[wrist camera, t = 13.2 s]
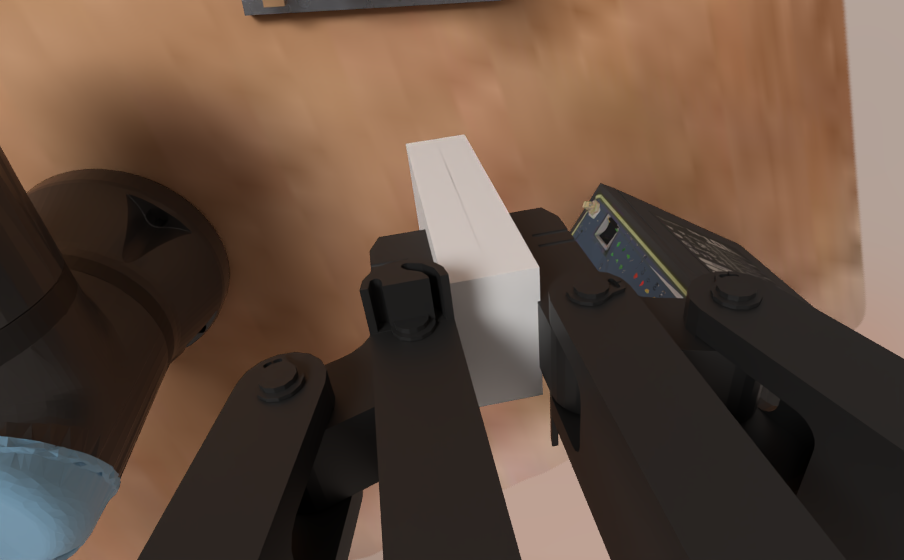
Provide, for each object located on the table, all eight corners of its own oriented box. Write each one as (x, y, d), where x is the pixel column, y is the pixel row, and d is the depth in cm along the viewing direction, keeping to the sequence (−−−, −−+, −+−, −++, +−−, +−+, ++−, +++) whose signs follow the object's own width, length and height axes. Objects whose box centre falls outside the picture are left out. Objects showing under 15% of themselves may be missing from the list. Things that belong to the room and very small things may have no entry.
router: (585, 174, 43) (725, 331, 26) (751, 248, 49) (950, 414, 32) (535, 257, 47) (630, 442, 30) (695, 316, 53) (849, 498, 36)
